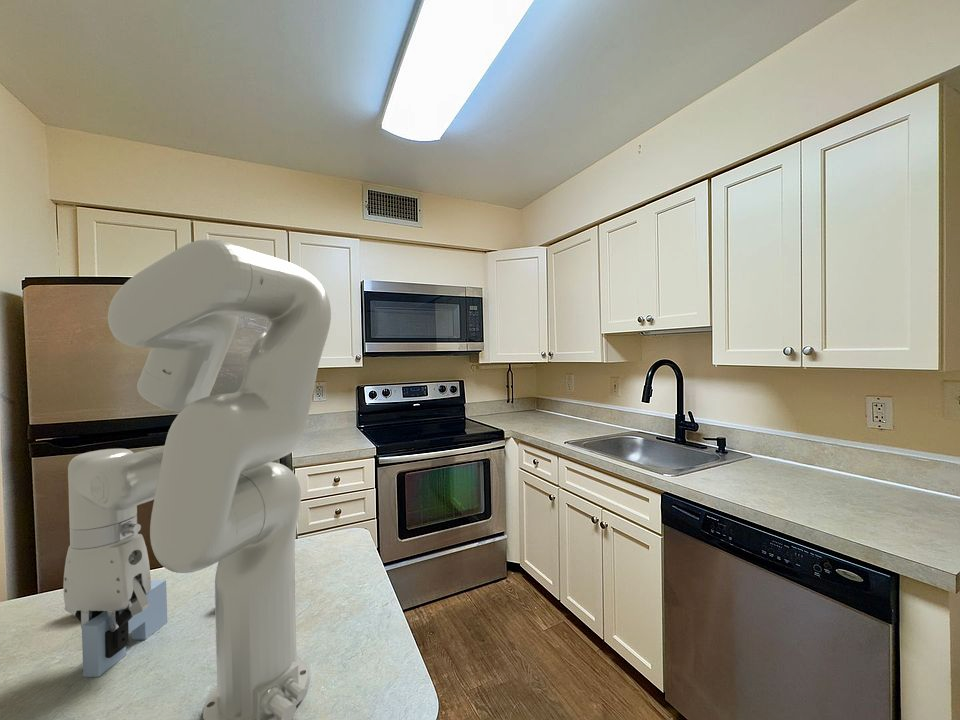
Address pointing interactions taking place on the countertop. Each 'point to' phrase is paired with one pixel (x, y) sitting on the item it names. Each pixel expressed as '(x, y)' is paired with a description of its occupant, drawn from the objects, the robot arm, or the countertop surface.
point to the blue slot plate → (138, 625)
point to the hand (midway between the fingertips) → (108, 650)
